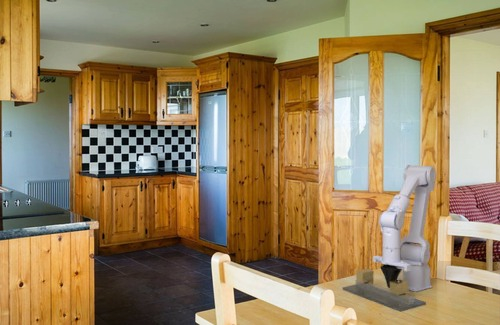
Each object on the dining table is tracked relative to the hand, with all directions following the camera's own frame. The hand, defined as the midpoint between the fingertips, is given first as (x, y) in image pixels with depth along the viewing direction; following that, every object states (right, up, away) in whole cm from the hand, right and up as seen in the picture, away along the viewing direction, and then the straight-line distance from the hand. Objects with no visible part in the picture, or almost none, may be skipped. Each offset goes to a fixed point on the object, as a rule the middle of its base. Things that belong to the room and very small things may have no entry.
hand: (391, 287), depth 161 cm
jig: (-2, -4, +3) cm, 5 cm away
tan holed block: (+2, -3, -2) cm, 4 cm away
